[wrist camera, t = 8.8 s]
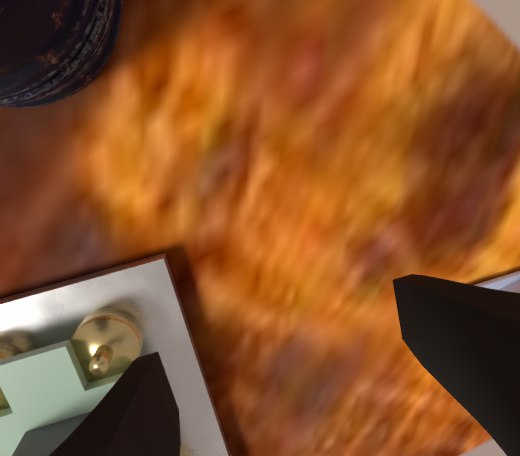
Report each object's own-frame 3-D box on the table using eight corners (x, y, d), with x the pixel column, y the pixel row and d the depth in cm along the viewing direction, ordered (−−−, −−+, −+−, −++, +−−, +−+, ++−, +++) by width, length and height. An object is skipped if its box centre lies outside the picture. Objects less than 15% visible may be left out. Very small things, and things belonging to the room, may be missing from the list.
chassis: (165, 252, 20) (159, 277, 17) (242, 489, 25) (250, 549, 21) (-99, 326, 19) (-165, 370, 16) (29, 562, 23) (0, 639, 20)
